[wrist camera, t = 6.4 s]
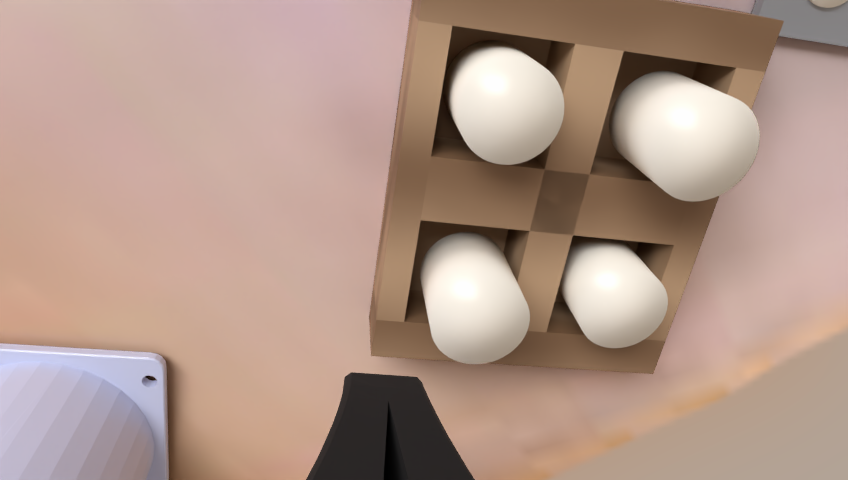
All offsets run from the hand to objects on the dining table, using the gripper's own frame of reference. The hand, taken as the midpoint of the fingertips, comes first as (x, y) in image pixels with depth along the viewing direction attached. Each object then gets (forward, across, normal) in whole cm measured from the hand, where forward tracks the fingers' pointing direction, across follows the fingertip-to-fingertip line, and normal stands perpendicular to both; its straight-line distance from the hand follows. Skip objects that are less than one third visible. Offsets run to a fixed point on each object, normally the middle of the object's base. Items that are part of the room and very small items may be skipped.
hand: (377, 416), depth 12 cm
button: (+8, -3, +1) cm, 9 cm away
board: (+10, -6, -2) cm, 12 cm away
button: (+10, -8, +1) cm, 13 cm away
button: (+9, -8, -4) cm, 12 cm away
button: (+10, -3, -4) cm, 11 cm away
